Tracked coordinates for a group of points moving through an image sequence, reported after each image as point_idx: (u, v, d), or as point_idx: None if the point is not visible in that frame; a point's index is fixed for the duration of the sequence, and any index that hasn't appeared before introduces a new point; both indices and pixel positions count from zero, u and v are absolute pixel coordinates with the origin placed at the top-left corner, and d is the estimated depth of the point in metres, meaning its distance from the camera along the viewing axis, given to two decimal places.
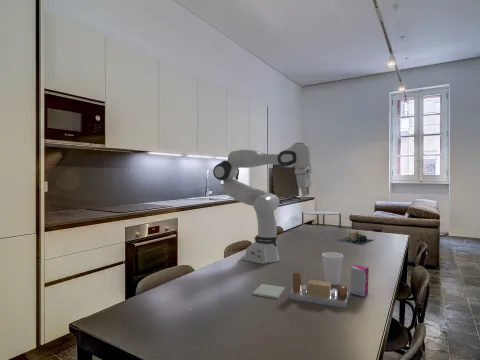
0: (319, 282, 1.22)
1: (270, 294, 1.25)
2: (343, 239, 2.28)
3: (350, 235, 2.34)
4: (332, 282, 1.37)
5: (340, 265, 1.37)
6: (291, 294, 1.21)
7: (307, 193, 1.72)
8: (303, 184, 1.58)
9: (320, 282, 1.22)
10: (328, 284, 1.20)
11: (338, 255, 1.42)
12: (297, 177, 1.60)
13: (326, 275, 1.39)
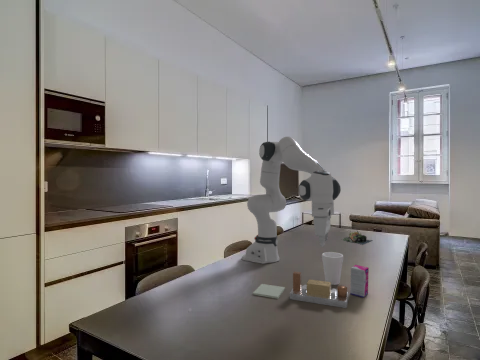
0: (319, 282, 1.22)
1: (270, 294, 1.25)
2: (343, 239, 2.28)
3: (350, 235, 2.34)
4: (332, 282, 1.37)
5: (340, 265, 1.37)
6: (291, 294, 1.21)
7: (325, 239, 1.27)
8: (323, 232, 1.13)
9: (320, 282, 1.22)
10: (328, 284, 1.20)
11: (338, 255, 1.42)
12: (315, 221, 1.15)
13: (326, 275, 1.39)
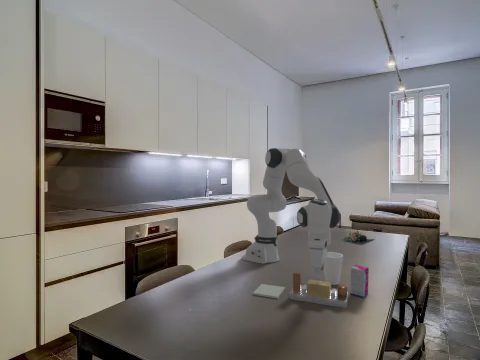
0: (319, 282, 1.22)
1: (270, 294, 1.25)
2: (343, 239, 2.28)
3: (350, 235, 2.34)
4: (332, 282, 1.37)
5: (340, 265, 1.37)
6: (291, 294, 1.21)
7: (321, 268, 1.25)
8: (319, 264, 1.12)
9: (320, 282, 1.22)
10: (328, 284, 1.20)
11: (338, 255, 1.42)
12: (311, 252, 1.14)
13: (326, 275, 1.39)
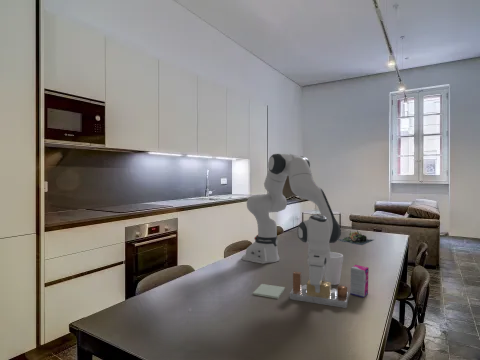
0: None
1: (270, 294, 1.25)
2: (343, 239, 2.28)
3: (350, 235, 2.34)
4: (332, 282, 1.37)
5: (340, 265, 1.37)
6: (291, 294, 1.21)
7: None
8: (318, 282, 1.12)
9: None
10: (328, 284, 1.20)
11: (338, 255, 1.42)
12: (310, 270, 1.14)
13: (326, 275, 1.39)
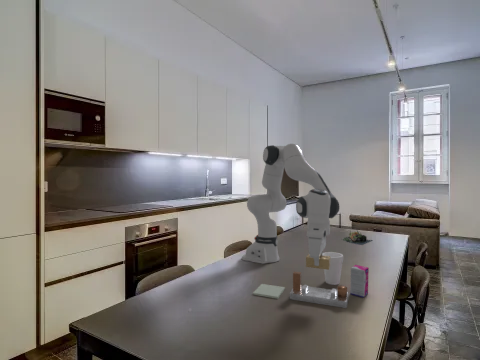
0: None
1: (270, 294, 1.25)
2: (343, 239, 2.28)
3: (350, 235, 2.34)
4: (332, 282, 1.37)
5: (340, 265, 1.37)
6: (291, 294, 1.21)
7: None
8: (317, 254, 1.12)
9: None
10: (327, 258, 1.20)
11: (338, 255, 1.42)
12: (310, 242, 1.14)
13: (326, 275, 1.39)
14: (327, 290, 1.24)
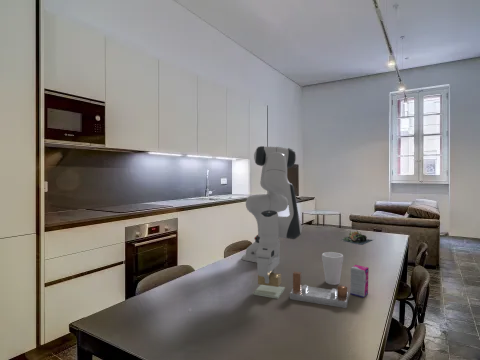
0: (270, 274, 1.29)
1: (270, 294, 1.25)
2: (343, 239, 2.29)
3: (350, 235, 2.35)
4: (332, 282, 1.37)
5: (340, 265, 1.37)
6: (291, 294, 1.21)
7: None
8: (265, 273, 1.19)
9: (271, 274, 1.29)
10: (277, 276, 1.27)
11: (338, 255, 1.42)
12: (258, 261, 1.21)
13: (326, 275, 1.39)
14: (327, 290, 1.24)
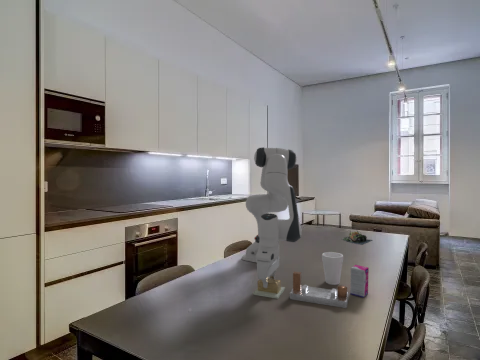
0: (269, 280, 1.30)
1: (270, 294, 1.25)
2: (343, 239, 2.29)
3: (350, 235, 2.35)
4: (332, 282, 1.37)
5: (340, 265, 1.37)
6: (291, 294, 1.21)
7: (272, 278, 1.33)
8: (264, 276, 1.20)
9: (270, 280, 1.30)
10: (276, 282, 1.27)
11: (338, 255, 1.42)
12: (258, 265, 1.21)
13: (326, 275, 1.39)
14: (327, 290, 1.24)
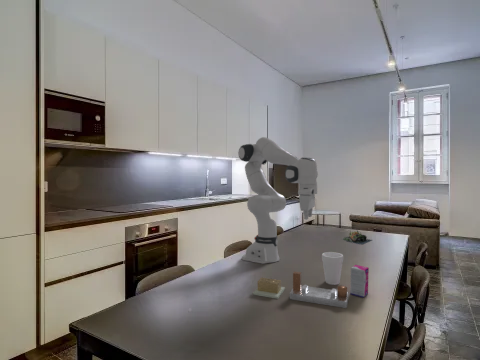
0: (269, 280, 1.30)
1: (270, 294, 1.25)
2: (343, 239, 2.29)
3: (350, 235, 2.35)
4: (332, 282, 1.37)
5: (340, 265, 1.37)
6: (291, 294, 1.21)
7: (309, 215, 1.51)
8: (306, 207, 1.38)
9: (270, 280, 1.30)
10: (276, 282, 1.27)
11: (338, 255, 1.42)
12: (300, 198, 1.40)
13: (326, 275, 1.39)
14: (327, 290, 1.24)
